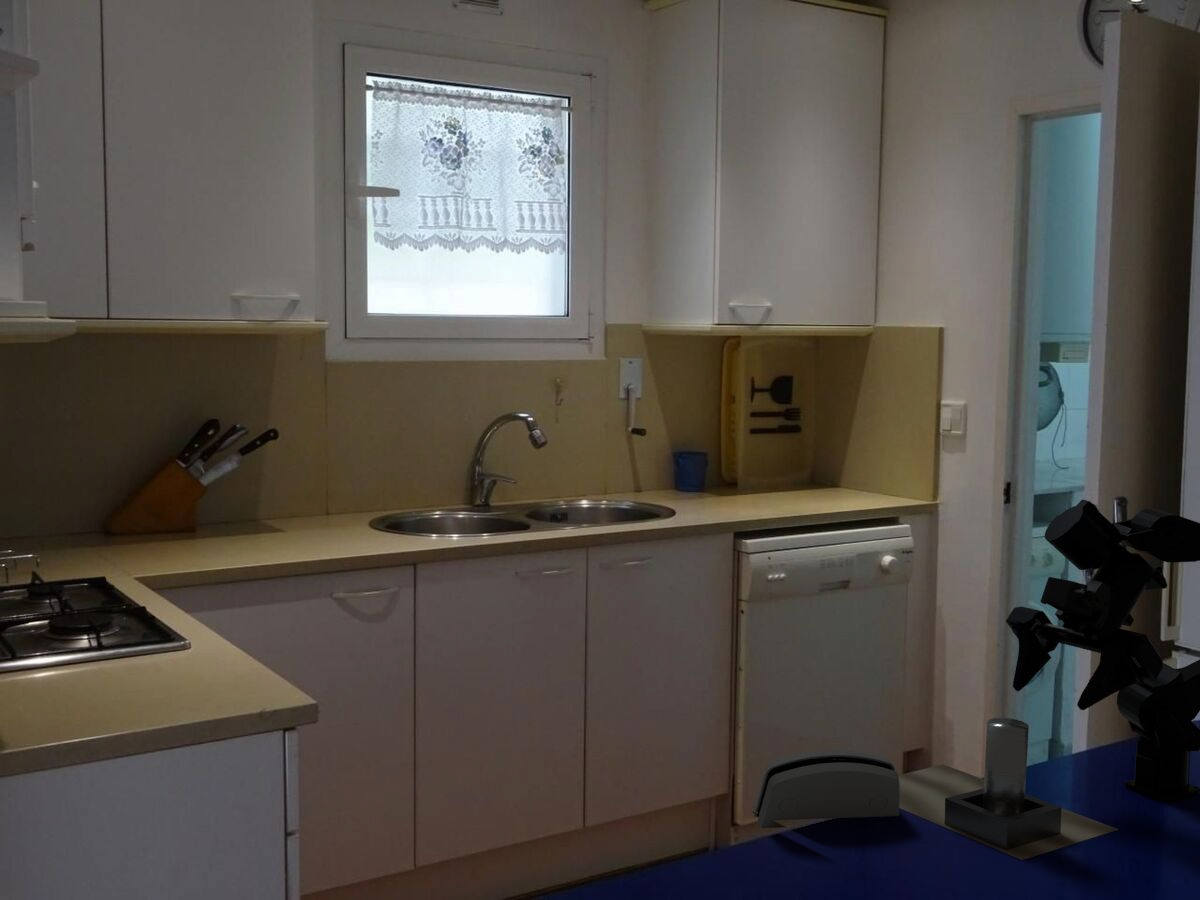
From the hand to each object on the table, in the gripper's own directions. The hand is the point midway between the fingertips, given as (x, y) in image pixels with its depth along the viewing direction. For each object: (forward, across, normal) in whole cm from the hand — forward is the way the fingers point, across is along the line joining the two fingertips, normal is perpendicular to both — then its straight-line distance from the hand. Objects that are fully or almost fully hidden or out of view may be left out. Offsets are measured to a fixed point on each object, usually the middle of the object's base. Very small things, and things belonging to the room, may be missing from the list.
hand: (1046, 698), depth 157 cm
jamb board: (+15, -3, +4) cm, 16 cm away
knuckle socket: (+16, +3, +1) cm, 17 cm away
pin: (+16, +3, +1) cm, 17 cm away
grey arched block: (+27, -11, -7) cm, 30 cm away
